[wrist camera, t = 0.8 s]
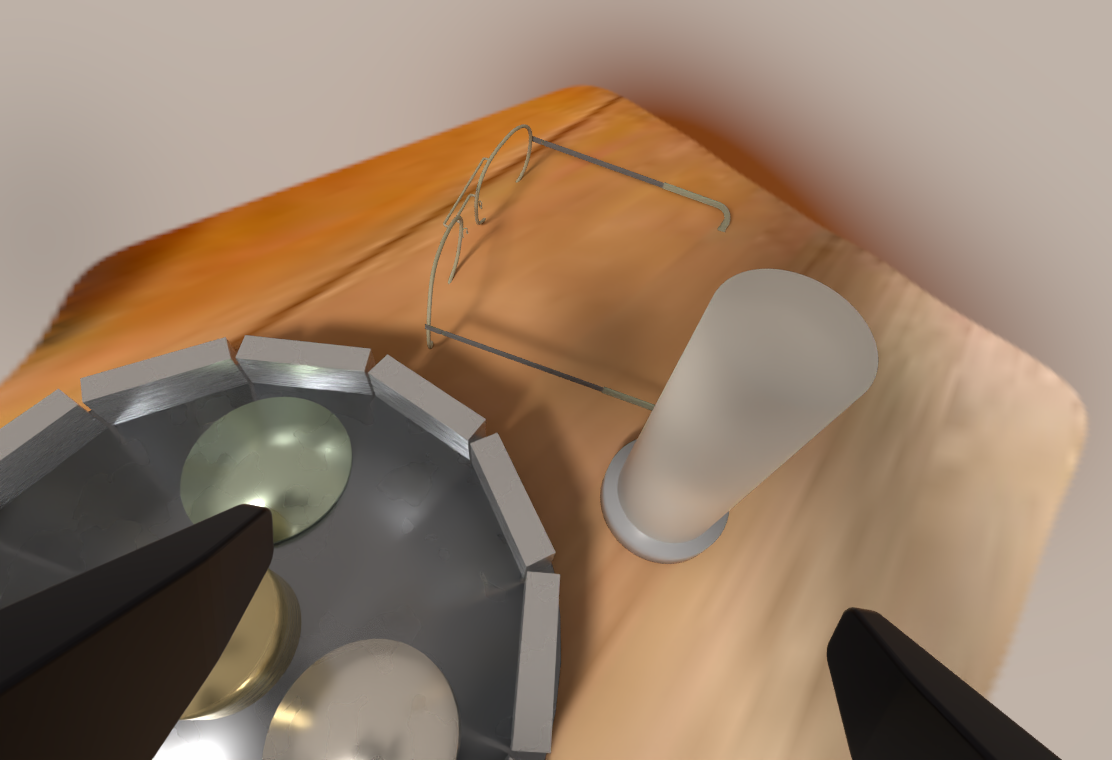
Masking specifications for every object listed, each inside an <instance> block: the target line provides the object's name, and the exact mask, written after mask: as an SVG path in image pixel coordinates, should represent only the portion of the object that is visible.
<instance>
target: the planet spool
mask: <svg viewBox="0 0 1112 760" xmlns="http://www.w3.org/2000/svg"><path fill="white" fill-rule="evenodd" d="M877 370H878V351H877V346H876V342H875V340H874V337H873V335H872V332H871V331H870V329H869V327H868V325H867V323H866V322H865V321H864V319H863V318H862V316H861V315H860V314H859V313H858V311H857V310H856V309H855V308H854V307H853V306H852V305H851V304H850V303H849V302H848V301H847V300H846V299H844V298H843V297H842V296H841V295H839V294H838V293H837V292H835V291H834V290H832V289H831V288H829V287H828V286H826V285H824V284H822V283H820V282H818V281H816V280H814V279H812V278H810V277H807V276H804V275H801V274H798V273H794V272H791V271H785V270H780V269H756V270H750V271H746V272H742V273H740V274H737V275H735V276H733V277H731V278H730V279H728V280H726V281H725V282H724V283H723V284H722V285H721V286H720V287H719V288H718V289H717V291H716V292H715V294H714V296H713V297H712V299H711V301H710V303H709V305H708V307H707V309H706V310H705V312H704V314H703V316H702V318H701V320H700V322H699V324H698V326H697V327H696V329H695V331H694V333H693V335H692V337H691V339H690V341H689V343H688V344H687V346H686V348H685V350H684V352H683V354H682V356H681V358H680V359H679V361H678V363H677V365H676V367H675V369H674V371H673V373H672V375H671V376H670V378H669V380H668V382H667V384H666V386H665V388H664V390H663V392H662V393H661V395H660V397H659V399H658V401H657V403H656V405H655V407H654V408H653V410H652V412H651V414H650V416H649V418H648V420H647V422H646V424H645V425H644V427H643V429H642V431H641V433H640V435H639V437H638V439H636V440H634V441H632V442H630V443H628V444H627V445H626V446H624V447H623V448H622V449H621V450H620V451H619V452H618V453H617V454H616V455H615V457H614V458H613V460H612V461H611V463H610V465H609V467H608V469H607V471H606V473H605V476H604V478H603V481H602V485H601V492H600V502H601V509H602V513H603V516H604V519H605V521H606V523H607V526H608V528H609V529H610V531H611V532H612V534H613V535H614V536H615V538H616V539H617V540H618V541H619V542H620V543H621V544H622V545H623V546H624V547H625V548H626V549H628V550H629V551H630V552H632V553H633V554H635V555H637V556H639V557H641V558H643V559H645V560H648V561H652V562H656V563H662V564H674V563H680V562H684V561H687V560H690V559H692V558H694V557H696V556H697V555H699V554H700V553H702V552H703V551H704V550H705V549H707V548H708V547H709V546H710V545H712V544H713V543H714V542H715V541H716V540H717V538H718V537H719V536H720V535H721V533H722V531H723V530H724V528H725V525H726V523H727V519H728V515H729V510H731V509H732V508H733V507H734V506H735V505H736V504H738V503H739V502H740V501H741V500H742V499H743V498H744V497H746V496H747V495H748V494H749V493H750V492H751V491H752V490H754V489H755V488H756V487H757V486H758V485H759V484H761V483H762V482H763V481H764V480H765V479H766V478H767V477H769V476H770V475H771V474H772V473H773V472H774V471H775V470H777V469H778V468H779V467H780V466H781V465H782V464H784V463H785V462H786V461H787V460H788V459H789V458H790V457H792V456H793V455H794V454H795V453H796V452H797V451H798V450H800V449H801V448H802V447H803V446H804V445H805V444H807V443H808V442H809V441H810V440H811V439H812V438H813V437H815V436H816V435H817V434H818V433H819V432H820V431H822V430H823V429H824V428H825V427H826V426H827V425H828V424H830V423H831V422H832V421H833V420H834V419H835V418H836V417H838V416H839V415H840V414H841V413H842V412H843V411H845V410H846V409H847V408H848V407H849V406H850V405H851V404H853V403H854V402H855V401H856V400H857V399H858V398H859V397H861V396H862V395H863V394H864V393H865V392H866V391H867V390H868V389H869V387H870V386H871V385H872V383H873V381H874V379H875V377H876V373H877Z"/></svg>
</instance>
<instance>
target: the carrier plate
mask: <svg viewBox="0 0 1112 760" xmlns="http://www.w3.org/2000/svg"><path fill="white" fill-rule="evenodd" d="M80 379H81V390H82V401H83V403H84V404H85V405H87V406H88V407H89V408H90V409H92V410H91V411H89V412H88V411H87V410H85V409H84V408H83V407H81V406H80V405H79V404H78V403H76V402H75V401H74V400H72V399H71V398H70V397H68V396H67V395H66V394H65V393H63V392H62V391H61V390H59V389H57V390H56V391H54V392H53V393H52V394H50V395H49V396H47V397H46V398H44V399H43V400H41V401H40V402H39V403H37V404H36V405H34V406H33V407H31V408H30V409H28V410H27V411H26V412H24V413H23V414H21V415H20V416H18V417H17V418H15V419H14V420H13V421H11V422H10V423H8V424H7V425H5V426H4V427H2V428H1V429H0V609H1V608H3V607H5V606H8V605H10V604H12V603H15V602H17V601H19V600H21V599H24V598H26V597H28V596H31V595H33V594H35V593H37V592H40V591H42V590H44V589H47V588H49V587H51V586H54V585H56V584H58V583H60V582H63V581H65V580H67V579H70V578H72V577H74V576H77V575H79V574H81V573H83V572H86V571H88V570H90V569H93V568H95V567H97V566H99V565H102V564H104V563H106V562H109V561H111V560H113V559H116V558H118V557H120V556H122V555H125V554H127V553H129V552H132V551H134V550H136V549H138V548H141V547H143V546H145V545H148V544H150V543H152V542H154V541H157V540H159V539H161V538H164V537H166V536H168V535H171V534H173V533H175V532H177V531H180V530H182V529H184V528H187V527H189V526H191V525H193V524H196V523H198V522H200V521H203V520H205V519H207V518H210V517H212V516H214V515H216V514H219V513H221V512H223V511H226V510H228V509H230V508H232V507H235V506H237V505H240V504H251V505H257V506H262V507H267V508H268V509H270V511H271V513H272V519H273V544H274V552H273V557H272V561H271V564H270V566H269V568H268V570H267V572H266V574H265V575H264V577H263V579H262V581H261V583H260V585H259V587H258V589H257V590H256V592H255V594H254V596H253V598H252V600H251V602H250V603H249V605H248V607H247V609H246V611H245V613H244V615H243V617H242V618H241V620H240V622H239V624H238V626H237V628H236V630H235V631H234V633H233V635H232V637H231V639H230V641H229V643H228V645H227V646H226V648H225V650H224V652H223V653H222V655H221V657H220V659H219V660H218V662H217V663H216V665H215V667H214V668H213V670H212V671H211V673H210V674H209V676H208V678H207V679H206V681H205V682H204V684H203V685H202V686H201V688H200V689H199V691H198V692H197V694H196V695H195V697H194V698H193V700H192V701H191V703H190V704H189V706H188V707H187V709H186V710H185V712H184V713H183V715H182V716H181V718H180V719H179V721H178V722H177V724H176V725H175V727H174V728H173V730H172V731H171V733H170V734H169V736H168V737H167V739H166V740H165V742H164V743H163V745H162V746H161V748H160V749H159V751H158V752H157V754H156V755H155V757H154V758H153V760H545V757H546V753H551V738H552V726H553V721H554V717H555V712H556V703H557V693H558V684H559V675H560V665H561V637H560V611H559V586H560V574H554V570H553V566H552V560H553V558H554V555H555V553H556V552H555V550H554V548H553V546H552V544H551V542H550V540H549V538H548V536H547V534H546V532H545V529H544V527H543V525H542V523H541V521H540V519H539V517H538V515H537V513H536V511H535V509H534V507H533V505H532V503H531V501H530V499H529V496H528V494H527V492H526V490H525V488H524V486H523V484H522V482H521V480H520V478H519V476H518V474H517V472H516V470H515V468H514V465H513V463H512V461H511V459H510V457H509V455H508V453H507V451H506V449H505V447H504V445H503V443H502V441H501V439H500V437H499V434H498V433H495V434H493V435H490V436H488V437H486V419H485V418H483V417H482V416H480V415H479V414H477V413H476V412H474V411H473V410H471V409H470V408H468V407H466V406H465V405H463V404H462V403H460V402H459V401H457V400H456V399H454V398H453V397H451V396H450V395H448V394H447V393H445V392H444V391H442V390H441V389H439V388H438V387H436V386H435V385H433V384H432V383H430V382H429V381H427V380H426V379H424V378H422V377H421V376H419V375H418V374H416V373H415V372H413V371H412V370H410V369H409V368H407V367H406V366H404V365H403V364H401V363H400V362H398V361H397V360H395V359H394V358H392V357H391V356H389V355H388V354H387V355H386V356H385V357H384V358H383V359H382V360H381V361H380V362H379V363H378V364H377V365H376V363H375V360H374V357H373V354H372V351H371V349H369V348H360V347H350V346H341V345H332V344H322V343H313V342H304V341H294V340H285V339H276V338H266V337H257V336H248V335H245V337H244V339H243V342H242V344H241V346H240V348H239V351H238V353H236V352H235V350H234V349H233V347H232V346H231V344H230V343H229V341H228V340H227V338H226V337H224V338H221V339H217V340H214V341H210V342H207V343H203V344H200V345H196V346H193V347H189V348H186V349H182V350H179V351H175V352H172V353H168V354H165V355H161V356H158V357H154V358H151V359H147V360H144V361H140V362H136V363H133V364H129V365H126V366H122V367H119V368H115V369H112V370H108V371H105V372H101V373H98V374H94V375H91V376H87V377H84V378H80Z"/></svg>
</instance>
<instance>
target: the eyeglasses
mask: <svg viewBox="0 0 1112 760" xmlns="http://www.w3.org/2000/svg"><path fill="white" fill-rule="evenodd" d="M521 128H526V129H527V130H528V133H529V146H528V153H527V158H526V161H525V165H524V167H523V170H522V172H521V174H520V176H519V177H518V179H517V180H516V182H519V181H520V180H521V178H522V176H523V175H524V173H525V170H526V168H527V165H528V162H529V158H530V154H531V148H532V141H533V142H536V143H538V144H542V145H544V146H547V147H550V148H552V149H555V150H558V151H561V152H564V153H566V154H569V155H572V156H575V157H578V158H580V159H583V160H586V161H589V162H591V163H594V164H597V165H600V166H603V167H605V168H608V169H611V170H614V171H617V172H619V173H622V174H625V175H628V176H631V177H633V178H636V179H639V180H642V181H645V182H647V183H650V184H653V185H656V186H659V187H661V188H663V189H666V190H669V191H671V192H674V193H677V194H680V195H683V196H685V197H688V198H691V199H694V200H697V201H699V202H702V203H705V204H708V205H711V206H713V207H716V208H718V209H720V210H721V211H722V212H723V213H724V217H725V219H724V220H723V222H722V223H721V225H720V226H719V227H718V230H719V231H723V232H725V230H726V228H727V227H728V225H729V223H730V212H729V210H728V208H727V207H726V206H725V205H724V204H722V203H720V202H718V201H715V200H712V199H709V198H707V197H704V196H701V195H698V194H695V193H693V192H690V191H687V190H684V189H682V188H679V187H676V186H673V185H670V184H668V183H665V182H664V183H662V182H659V181H657V180H654V179H651V178H648V177H645V176H643V175H640V174H637V173H634V172H631V171H629V170H626V169H623V168H620V167H617V166H615V165H612V164H609V163H606V162H603V161H601V160H598V159H595V158H592V157H589V156H587V155H584V154H581V153H578V152H575V151H573V150H570V149H567V148H564V147H561V146H559V145H556V144H553V143H550V142H547V141H544V140H542V139H539V138H536V137H533V136H532V131H531V128H530V127H529V126H528V125H520V126H517V127H516V128H514V129H513V130H512V131H511V132H509V133H508V135H507V136H506V137H505V138H504V139H503V140H502V141H501V142H500V144H499V145H498V146H497V147H496V149H495V150H494V152H493V153H492V154H491V156H490V158H489V159H488V158H483V159H482V160H481V162H480V164H479V165H478V167H477V168H476V170H475V172H474V173H473V175H472V177H471V178H470V180H469V182H468V183H467V185H466V187H465V188H464V190H463V191H462V193H461V195H460V196H459V198H458V200H457V201H456V203H455V205H454V206H453V208H452V209H451V211H450V213H449V214H448V216H447V218H446V219H445V221H444V223H443V225H444V226H445V227H447V230H446V232H445V233H444V236H443V238H442V240H441V242H440V245H439V248H438V250H437V253H436V256H435V259H434V263H433V267H432V271H431V277H430V284H429V293H428V307H427V325H426V324H425V329H427V345H428V348H429V349H432V347H433V341H431V340H430V331H433V332H436V333H438V334H441V332H442V335H444V336H447V337H450V338H453V339H455V340H458V341H461V342H464V343H467V344H469V345H472V346H475V347H478V348H480V349H483V350H486V351H489V352H492V353H494V354H497V355H500V356H503V357H506V358H508V359H511V360H514V361H517V362H520V363H522V364H525V365H528V366H531V367H534V368H536V369H539V370H542V371H545V372H548V373H550V374H553V375H556V376H559V377H562V378H564V379H567V380H570V381H573V382H576V383H578V384H581V385H584V386H587V387H590V388H592V389H595V390H598V391H601V392H602V393H604V394H607V395H610V396H613V397H615V398H618V399H621V400H624V401H627V402H629V403H632V404H635V405H638V406H641V407H643V408H646V409H649V410H653V408H654V407H655V405H654V404H651V403H648V402H646V401H643V400H640V399H637V398H634V397H632V396H629V395H626V394H623V393H620V392H618V391H615V390H612V389H609V388H607V387H604V388H603V387H600V386H598V385H595V384H592V383H589V382H586V381H584V380H581V379H578V378H575V377H572V376H570V375H567V374H564V373H561V372H558V371H556V370H553V369H550V368H547V367H544V366H542V365H539V364H536V363H533V362H530V361H528V360H525V359H522V358H519V357H516V356H514V355H511V354H508V353H505V352H502V351H500V350H497V349H494V348H491V347H488V346H486V345H483V344H480V343H477V342H475V341H472V340H469V339H466V338H463V337H461V336H458V335H455V334H452V333H449V332H447V331H443V330H441V329H438V328H435V327H433V326H430V325H431V305H432V292H433V283H434V277H435V272H436V267H437V263H438V260H439V257H440V254H441V251H442V248H443V246H444V243H445V241H446V239H447V236H448V234H449V232H450V230H451V229H452V227H453V225H454V224H455V223H456V222H458V223H460V230H459V240H458V247H457V253H456V258H455V262H454V266H453V269H452V272H451V275H450V278H449V280H448V284H450V283H451V281H452V279H453V276H454V273H455V270H456V267H457V264H458V260H459V255H460V249H461V242H462V236H463V230H464V229H467V228H464V229H463V219H462V217H461V216H459V215H460V214H461V212H462V210H463V209H464V207H465V205H466V203H467V202H468V200H469V198H470V197H471V196H473V197H475V220H476V223H477V224H478V225H480V224H482V223H483V222H484V221H485V219H486V218H483V219H482V220H481V221H479V219H478V198H479V192H480V187H481V184H482V181H483V178H484V175H485V173H486V171H487V168H488V166H489V165H490V163H491V161H492V159H493V158H494V156H495V155H496V153H497V152H498V151H499V149H500V148H501V147H502V145H503V144H504V143H505V142H506V141H507V140H508V138H509V137H510V136H511V135H512V134H513V133H515V132H516V131H517V130H519V129H521ZM541 142H542V143H541ZM484 160H488V161H487V163H486V165H485V167H484V169H483V171H482V173H481V176H480V179H479V182H478V185H477V189H476V195H474V194H470V195H468V197H467V199H466V200H465V202H464V204H463V205H462V207H461V209H460V210H459V212H458V214H457V215H456V217H455V218H454V219H453V220H452V222H451V223H450V224H449V226H447V225H445V224H446V222H447V221H448V219H449V217H450V216H451V214H452V212H453V211H454V209H455V207H456V206H457V204H458V202H459V201H460V199H461V197H462V196H463V194H464V192H465V191H466V189H467V188H468V186H469V184H470V183H471V181H472V179H473V178H474V176H475V174H476V173H477V171H478V169H479V168H480V166H481V164H482V163H483V161H484ZM480 202H481V201H479V206H480V207H481V209H482V202H481V205H480ZM458 220H459V221H458ZM466 233H467V234H468V231H466ZM463 238H464V237H463Z"/></svg>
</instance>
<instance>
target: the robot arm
mask: <svg viewBox="0 0 1112 760" xmlns="http://www.w3.org/2000/svg"><path fill="white" fill-rule="evenodd" d="M273 552H274V544H273V519H272V513H271V511H270V509H268V508H267V507H262V506H257V505H251V504H240V505H237V506H235V507H232V508H230V509H228V510H226V511H223V512H221V513H219V514H216V515H214V516H212V517H210V518H207V519H205V520H203V521H200V522H198V523H196V524H193V525H191V526H189V527H187V528H184V529H182V530H180V531H177V532H175V533H173V534H171V535H168V536H166V537H164V538H161V539H159V540H157V541H154V542H152V543H150V544H148V545H145V546H143V547H141V548H138V549H136V550H134V551H132V552H129V553H127V554H125V555H122V556H120V557H118V558H116V559H113V560H111V561H109V562H106V563H104V564H102V565H99V566H97V567H95V568H93V569H90V570H88V571H86V572H83V573H81V574H79V575H77V576H74V577H72V578H70V579H67V580H65V581H63V582H60V583H58V584H56V585H54V586H51V587H49V588H47V589H44V590H42V591H40V592H37V593H35V594H33V595H31V596H28V597H26V598H24V599H21V600H19V601H17V602H15V603H12V604H10V605H8V606H5V607H3V608H1V609H0V760H153V758H154V757H155V755H156V754H157V752H158V751H159V749H160V748H161V746H162V745H163V743H164V742H165V740H166V739H167V737H168V736H169V734H170V733H171V731H172V730H173V728H174V727H175V725H176V724H177V722H178V721H179V719H180V718H181V716H182V715H183V713H184V712H185V710H186V709H187V707H188V706H189V704H190V703H191V701H192V700H193V698H194V697H195V695H196V694H197V692H198V691H199V689H200V688H201V686H202V685H203V684H204V682H205V681H206V679H207V678H208V676H209V674H210V673H211V671H212V670H213V668H214V667H215V665H216V663H217V662H218V660H219V659H220V657H221V655H222V653H223V652H224V650H225V648H226V646H227V645H228V643H229V641H230V639H231V637H232V635H233V633H234V631H235V630H236V628H237V626H238V624H239V622H240V620H241V618H242V617H243V615H244V613H245V611H246V609H247V607H248V605H249V603H250V602H251V600H252V598H253V596H254V594H255V592H256V590H257V589H258V587H259V585H260V583H261V581H262V579H263V577H264V575H265V574H266V572H267V570H268V568H269V566H270V564H271V561H272V557H273ZM827 662H828V666H829V670H830V674H831V678H832V682H833V686H834V690H835V694H836V698H837V702H838V706H839V710H840V714H841V718H842V722H843V726H844V730H845V734H846V738H847V742H848V746H849V750H850V754H851V757H852V760H1061V759H1060V758H1059V757H1058V756H1056V755H1055V754H1054V753H1052V752H1051V751H1050V750H1049V749H1048V748H1046V747H1045V746H1044V745H1043V744H1042V743H1040V742H1039V741H1038V740H1036V739H1035V738H1034V737H1033V736H1032V735H1030V734H1029V733H1028V732H1027V731H1025V730H1024V729H1023V728H1022V727H1020V726H1019V725H1018V724H1017V723H1015V722H1014V721H1012V720H1011V719H1010V718H1009V717H1008V716H1006V715H1005V714H1004V713H1003V712H1002V711H1000V710H999V709H998V708H996V707H995V706H994V705H993V704H992V703H990V702H989V701H988V700H987V699H985V698H984V697H983V696H982V695H980V694H979V693H978V692H977V691H975V690H974V689H973V688H972V687H970V686H969V685H968V684H967V683H965V682H964V681H963V680H962V679H960V678H959V677H958V676H957V675H955V674H954V673H953V672H952V671H950V670H949V669H948V668H947V667H945V666H944V665H943V664H942V663H940V662H939V661H938V660H937V659H935V658H934V657H933V656H932V655H930V654H929V653H928V652H927V651H925V650H924V649H923V648H922V647H920V646H919V645H918V644H917V643H915V642H914V641H913V640H912V639H910V638H909V637H908V636H907V635H905V634H904V633H903V632H902V631H901V630H899V629H898V628H897V627H896V626H894V625H893V624H892V623H891V622H889V621H888V620H887V619H886V618H884V617H883V616H882V615H880V614H879V613H877V612H875V611H872V610H866V609H860V608H854V607H852V608H848V609H847V610H845V611H844V613H843V615H842V617H841V619H840V621H839V623H838V625H837V627H836V629H835V631H834V633H833V635H832V637H831V639H830V641H829V643H828V647H827Z"/></svg>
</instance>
